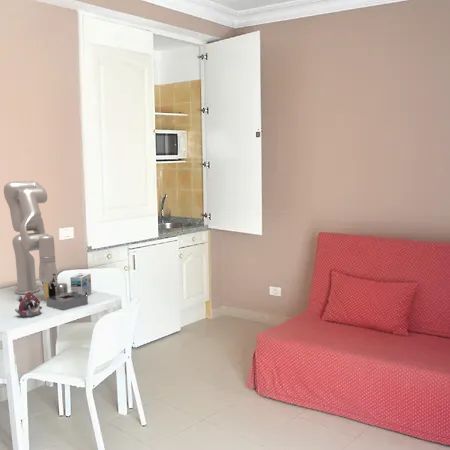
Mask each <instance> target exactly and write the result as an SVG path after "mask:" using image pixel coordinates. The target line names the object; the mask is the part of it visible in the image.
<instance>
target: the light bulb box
mask: <svg viewBox="0 0 450 450" xmlns="http://www.w3.org/2000/svg"><path fill="white" fill-rule="evenodd" d="M91 275H92V274H91V273H78V274H75V275H73V276H70V279H69V280H70V292H72V293H77V294H81V295H87V296H89V295H91V294H92V293H91V292H92V279H91V278H92V277H91ZM90 293H91V294H90ZM88 294H89V295H88Z"/></svg>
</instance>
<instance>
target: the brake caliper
mask: <svg viewBox="0 0 450 450" xmlns="http://www.w3.org/2000/svg"><path fill="white" fill-rule="evenodd" d="M16 300H17V301H18V302H19V303H18V304H19V305H18V308H15V309H14V311H15V312H16V313H17V314H18V315H19V316H20V317H23V318H34V317H36V316H39V315H42V314H43V312H42V311H41V310H42V309H43V306H40V304H41V301H40V299H39V298H38V297H37V296H36V295H34V293H31V292H29V291H28V292H27V293H26V294H24V296H22V295H18V297H17V298H16ZM33 301H34V302H33Z"/></svg>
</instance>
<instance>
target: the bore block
mask: <svg viewBox="0 0 450 450" xmlns="http://www.w3.org/2000/svg"><path fill="white" fill-rule="evenodd" d="M88 300H89V299H88V295H87V296H86V295H81V294H77V293H72V292H71V291H70V292H68V293H65V294H61V295H57V296H52V297H48V298H46V301H45V303H46V307H50V308H53V309H58V310H60V311H66V310H70V309H73V308H77V307H81V306H86V305H88V304H89V301H88Z"/></svg>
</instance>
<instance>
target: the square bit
mask: <svg viewBox="0 0 450 450" xmlns="http://www.w3.org/2000/svg"><path fill="white" fill-rule="evenodd" d="M52 282H53V281H52ZM43 283H44V282H43ZM52 284H53V283H52ZM52 284H51V285H52ZM49 289H50V287H49V283H44V287H43V292H44V293H43V296H44V302H46V298H48V297H50V296H49ZM55 292H56V291H55Z"/></svg>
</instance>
